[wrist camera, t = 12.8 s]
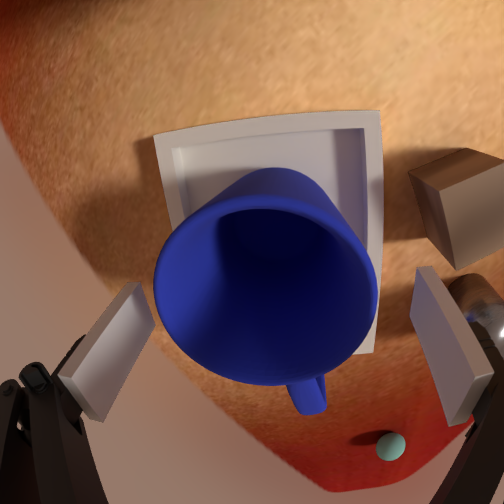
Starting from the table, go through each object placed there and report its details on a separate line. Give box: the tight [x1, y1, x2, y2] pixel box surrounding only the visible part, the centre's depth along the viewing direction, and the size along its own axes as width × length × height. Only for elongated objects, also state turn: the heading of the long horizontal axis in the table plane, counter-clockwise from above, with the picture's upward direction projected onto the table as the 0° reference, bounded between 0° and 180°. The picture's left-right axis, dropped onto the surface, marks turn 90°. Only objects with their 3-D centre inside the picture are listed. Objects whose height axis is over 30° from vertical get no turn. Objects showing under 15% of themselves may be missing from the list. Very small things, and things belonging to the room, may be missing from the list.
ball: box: [376, 433, 405, 461], centre depth 28 cm, size 4×4×4 cm
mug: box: [153, 167, 378, 415], centre depth 16 cm, size 8×12×10 cm
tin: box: [447, 273, 504, 359], centre depth 19 cm, size 5×5×6 cm
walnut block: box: [408, 148, 504, 271], centre depth 16 cm, size 5×5×5 cm
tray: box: [153, 110, 384, 355], centre depth 20 cm, size 17×13×2 cm
